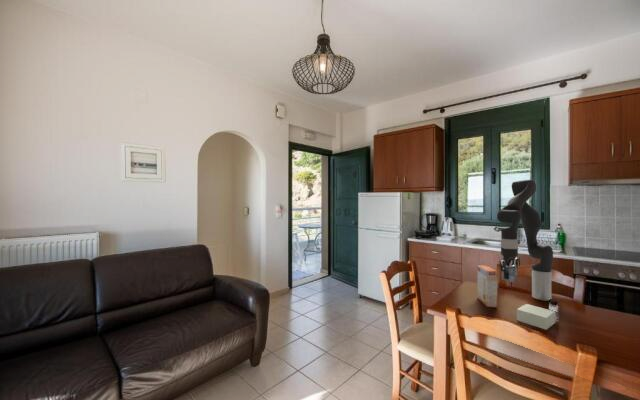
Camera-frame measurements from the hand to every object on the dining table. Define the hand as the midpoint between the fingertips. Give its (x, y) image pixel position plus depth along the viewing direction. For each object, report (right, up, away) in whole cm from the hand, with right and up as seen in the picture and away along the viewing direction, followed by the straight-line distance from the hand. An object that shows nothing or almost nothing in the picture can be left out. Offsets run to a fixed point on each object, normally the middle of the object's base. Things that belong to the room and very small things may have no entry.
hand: (509, 278), depth 145 cm
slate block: (0, -1, 0) cm, 1 cm away
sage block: (+7, -20, -9) cm, 23 cm away
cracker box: (-3, -19, +15) cm, 25 cm away
